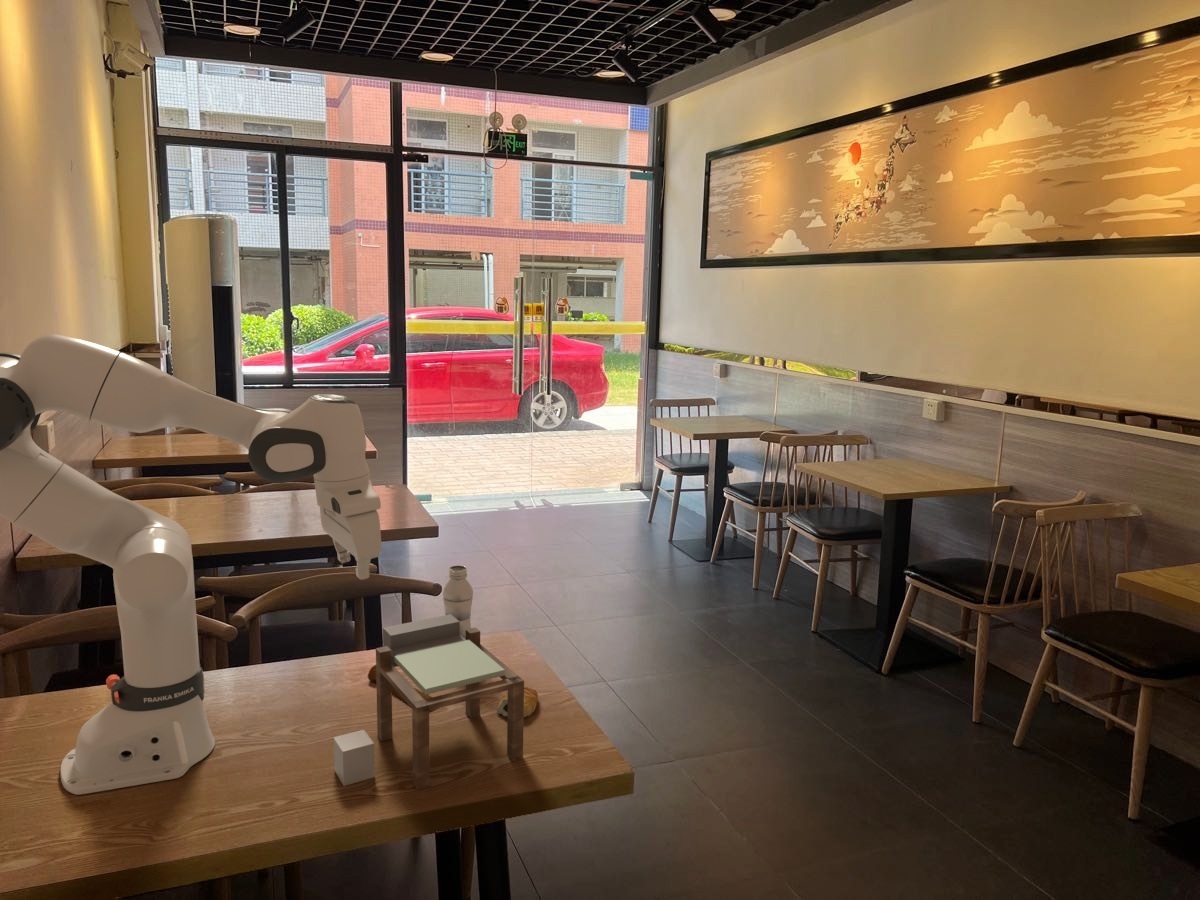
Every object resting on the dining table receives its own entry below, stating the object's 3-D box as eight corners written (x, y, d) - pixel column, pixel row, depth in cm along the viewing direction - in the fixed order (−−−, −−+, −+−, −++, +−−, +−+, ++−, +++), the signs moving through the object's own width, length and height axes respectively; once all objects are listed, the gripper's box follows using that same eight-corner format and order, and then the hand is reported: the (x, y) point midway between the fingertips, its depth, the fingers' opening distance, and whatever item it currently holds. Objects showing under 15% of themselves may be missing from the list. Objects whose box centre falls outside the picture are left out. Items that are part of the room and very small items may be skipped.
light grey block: (343, 786, 137) (342, 751, 136) (334, 771, 141) (333, 737, 140) (374, 777, 140) (373, 743, 138) (364, 762, 144) (363, 729, 143)
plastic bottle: (472, 650, 188) (472, 562, 184) (474, 663, 182) (474, 572, 178) (442, 651, 187) (441, 563, 183) (443, 665, 180) (442, 574, 176)
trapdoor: (425, 709, 137) (425, 674, 136) (380, 659, 155) (380, 628, 153) (504, 689, 145) (504, 655, 144) (453, 643, 162) (453, 613, 161)
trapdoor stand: (417, 789, 136) (416, 692, 133) (377, 736, 152) (375, 648, 149) (522, 757, 147) (524, 666, 143) (475, 710, 162) (475, 627, 159)
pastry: (513, 693, 169) (514, 675, 169) (546, 699, 168) (546, 681, 167) (494, 716, 161) (494, 697, 160) (528, 722, 159) (528, 703, 158)
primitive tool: (445, 706, 164) (445, 689, 163) (423, 717, 160) (423, 700, 159) (380, 677, 175) (380, 660, 175) (358, 686, 171) (357, 670, 170)
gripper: (306, 481, 149) (316, 556, 153) (344, 509, 133) (355, 593, 136) (342, 474, 153) (351, 547, 156) (384, 501, 136) (393, 582, 140)
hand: (353, 569), depth 146 cm, fingers open, 8 cm apart
